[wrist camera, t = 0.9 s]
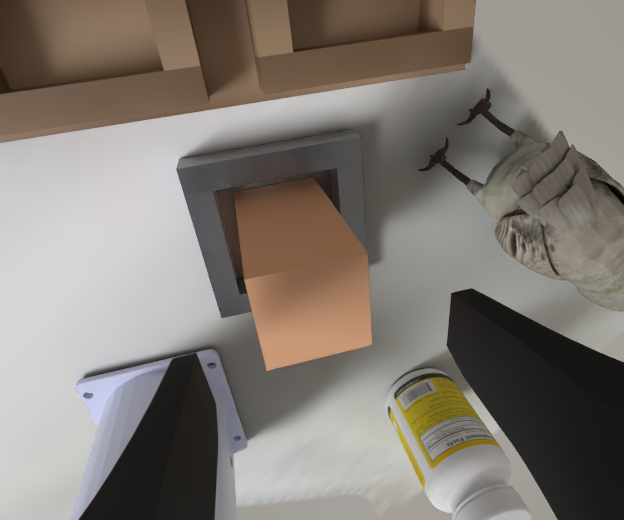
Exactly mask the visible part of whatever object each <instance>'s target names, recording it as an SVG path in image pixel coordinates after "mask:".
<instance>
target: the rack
mask: <svg viewBox="0 0 624 520" xmlns="http://www.w3.org/2000/svg"><path fill="white" fill-rule="evenodd" d="M475 3H476V0H0V143H2V142H9V141H15V140H21V139H28V138H34V137H40V136H47V135H53V134H59V133H66V132H72V131H78V130H85V129H91V128H97V127H104V126H110V125H116V124H123V123H129V122H135V121H142V120H148V119H154V118H161V117H167V116H173V115H180V114H186V113H192V112H199V111H205V110H211V109H218V108H224V107H230V106H237V105H243V104H249V103H256V102H262V101H268V100H275V99H281V98H287V97H294V96H300V95H306V94H313V93H319V92H325V91H331V90H338V89H344V88H350V87H357V86H363V85H369V84H376V83H382V82H388V81H395V80H401V79H407V78H414V77H420V76H426V75H433V74H439V73H445V72H452V71H458V70H464V69H465V63H470V61H471V49H472V38H473V26H474V14H475Z"/></svg>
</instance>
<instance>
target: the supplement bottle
mask: <svg viewBox="0 0 624 520" xmlns="http://www.w3.org/2000/svg"><path fill="white" fill-rule="evenodd" d="M386 409H387V412H388V415H389V417H390V419H391V421H392V423H393V425H394V428H395V430H396V432H397V434H398V436H399V438H400V440H401V442H402V444H403V447H404V449H405V451H406V453H407V455H408V457H409V459H410V461H411V463H412V465H413V468H414V470H415V472H416V474H417V476H418V478H419V480H420V482H421V484H422V487H423V489H424V491H425V492H426V494H427V496H428V498H429V500H430V501H431V503H432V504H433V505H434V506H435V507H436V508H438V509H440V510H442V511H444V512H449V513H453V516H452V519H453V520H531V518H532V515H531V512H530V510H529V509H528V507H527V506H526V504H525V503H524V501H523V500H522V498H521V496H520V495H519V493H518V492H517V491H516V490H515V489H514V487H512V486H511V485H507V484H508V482H509V480H510V477H511V465H510V462H509V460H508V458H507V456H506V455H505V453H504V451H503V450H502V449H501V447H500V446H499V444H498V443H497V441H496V440H495V439H494V437H493V436H492V434H491V433H490V432H489V430H488V429H487V427H486V426H485V425H484V423H483V422H482V420H481V419H480V418H479V416H478V415H477V413H476V412H475V411H474V409H473V408H472V406H471V405H470V404H469V402H468V401H467V399H466V398H465V396H464V395H463V394H462V392H461V391H460V390H459V388H458V387H457V385H456V384H455V383H454V381H453V380H452V379H451V377H450V376H449V375H448V374H447V373H445V372H443V371H441V370H438V369H433V368H427V369H420V370H416V371H413V372H411V373H409V374H407V375H405V376H404V377H402V378H401V379H399V380H398V381H397V382H396V383H395V384H394V385H393V387H392V388H391V389H390V391H389V393H388V395H387V398H386Z"/></svg>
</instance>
